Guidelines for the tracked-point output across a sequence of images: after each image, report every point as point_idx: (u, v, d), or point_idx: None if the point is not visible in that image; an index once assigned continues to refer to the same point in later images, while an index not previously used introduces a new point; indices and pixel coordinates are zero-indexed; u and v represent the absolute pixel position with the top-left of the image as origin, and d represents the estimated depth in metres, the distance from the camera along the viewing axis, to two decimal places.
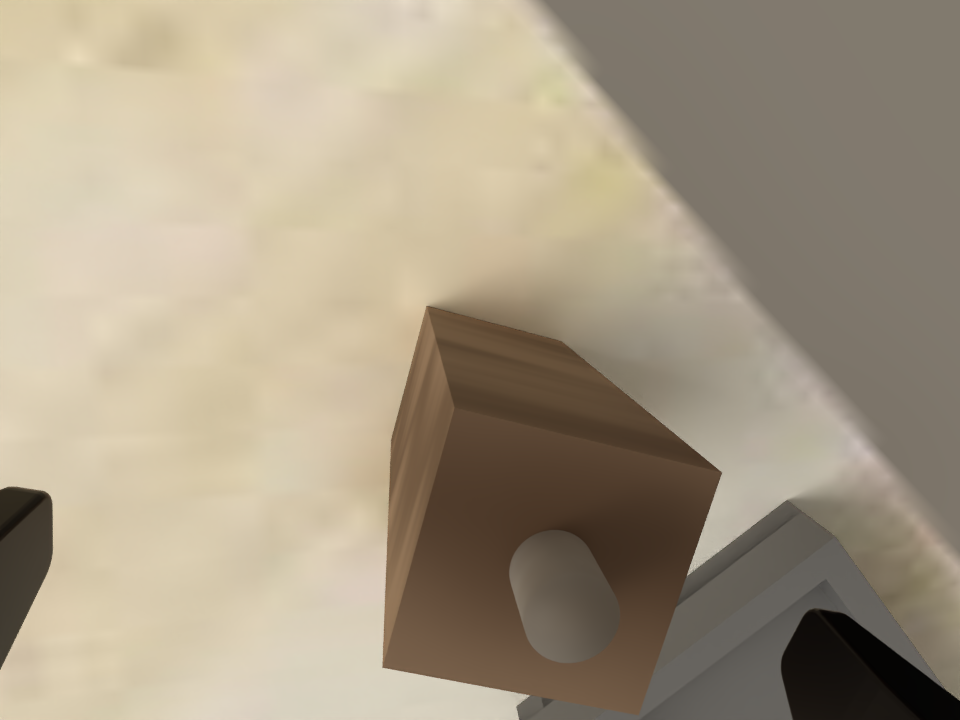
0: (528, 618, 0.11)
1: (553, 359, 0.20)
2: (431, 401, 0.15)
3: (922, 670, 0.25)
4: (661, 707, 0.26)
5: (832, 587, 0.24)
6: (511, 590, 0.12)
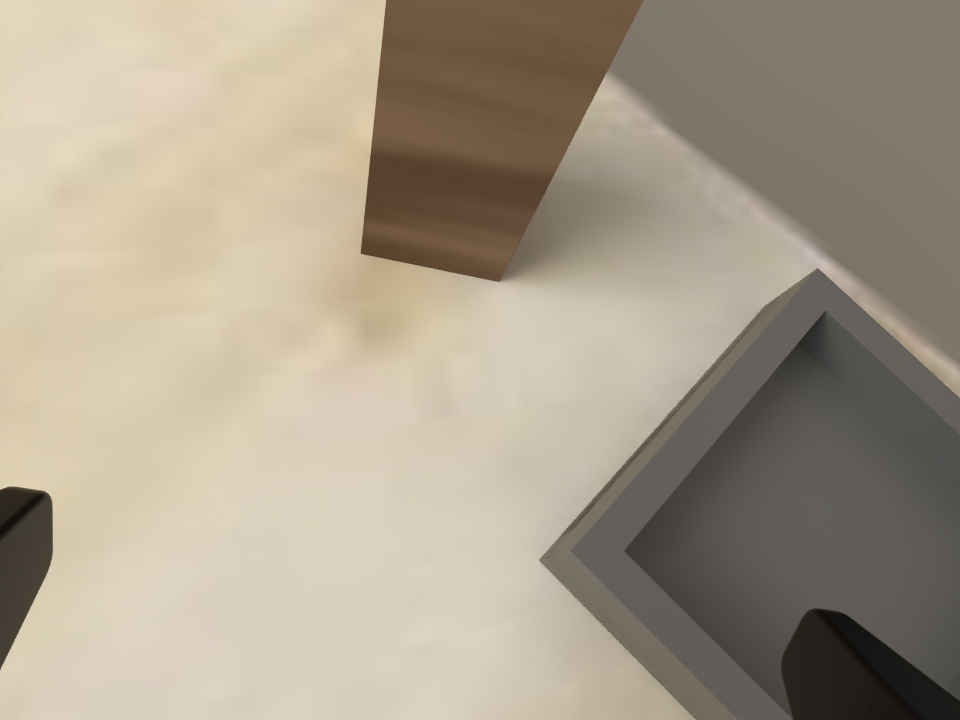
0: None
1: None
2: None
3: None
4: (707, 523, 0.22)
5: (835, 321, 0.23)
6: None
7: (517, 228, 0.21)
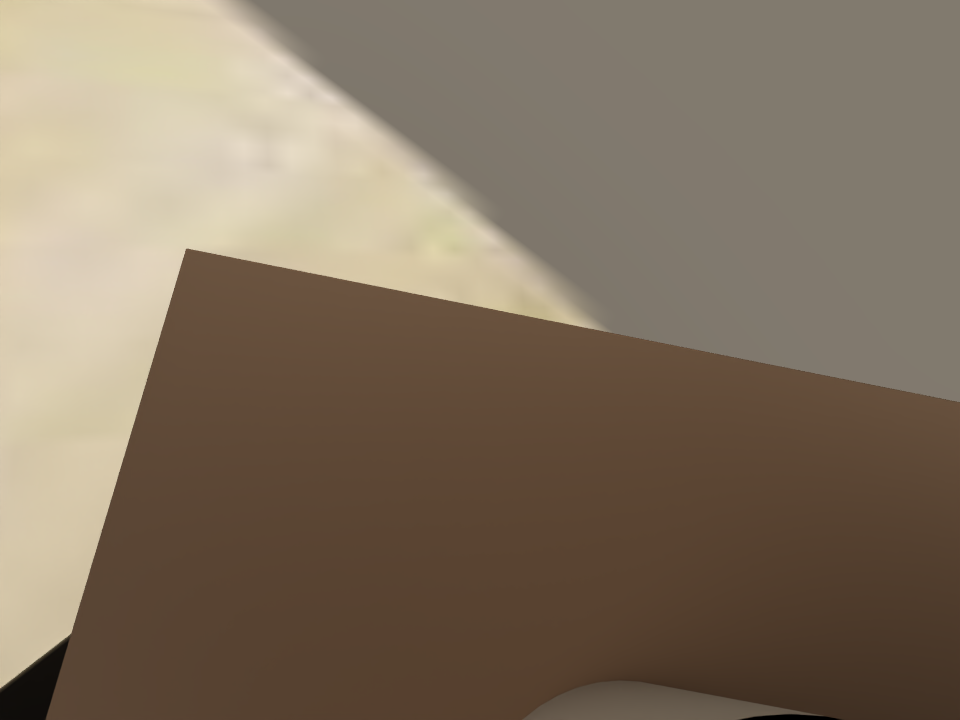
0: None
1: None
2: None
3: None
4: None
5: None
6: None
7: None
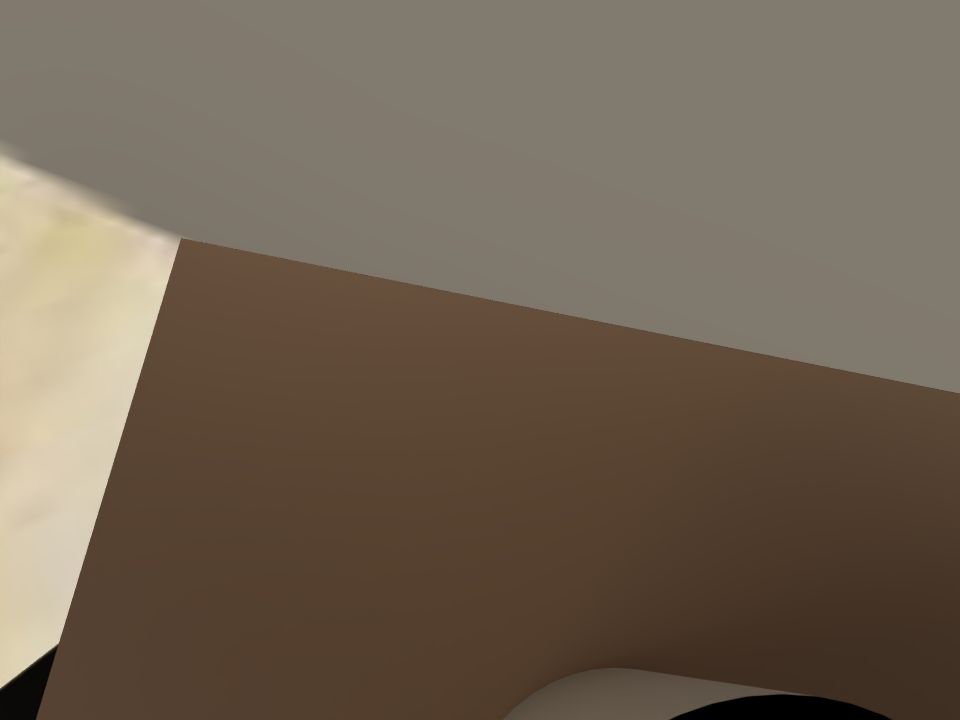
0: None
1: None
2: None
3: None
4: None
5: None
6: None
7: None
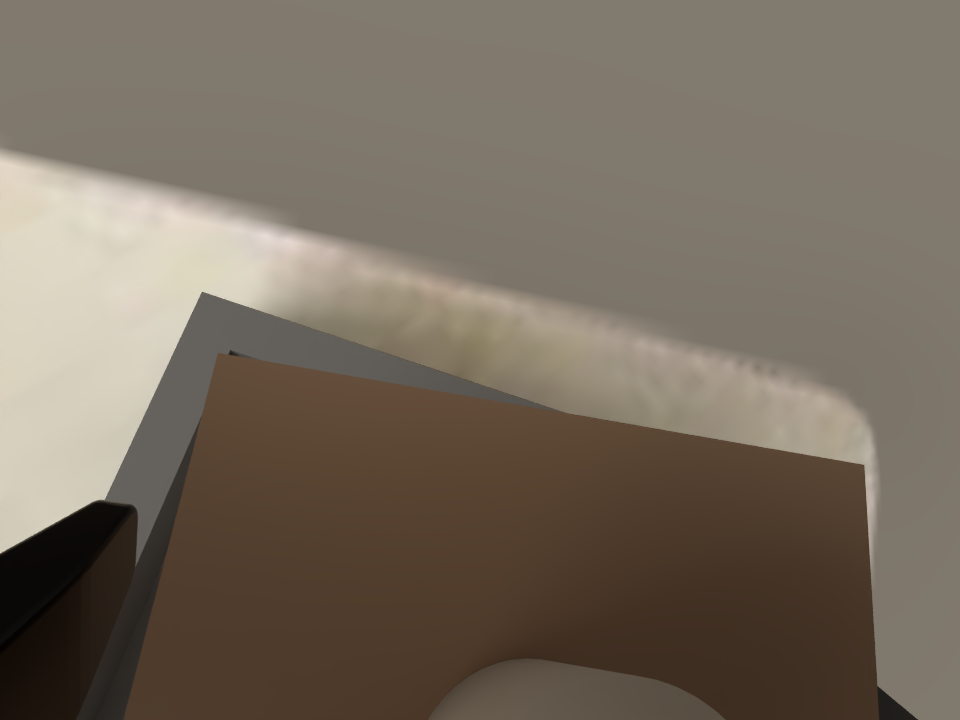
0: None
1: None
2: None
3: (469, 391, 0.16)
4: None
5: (252, 357, 0.16)
6: None
7: None
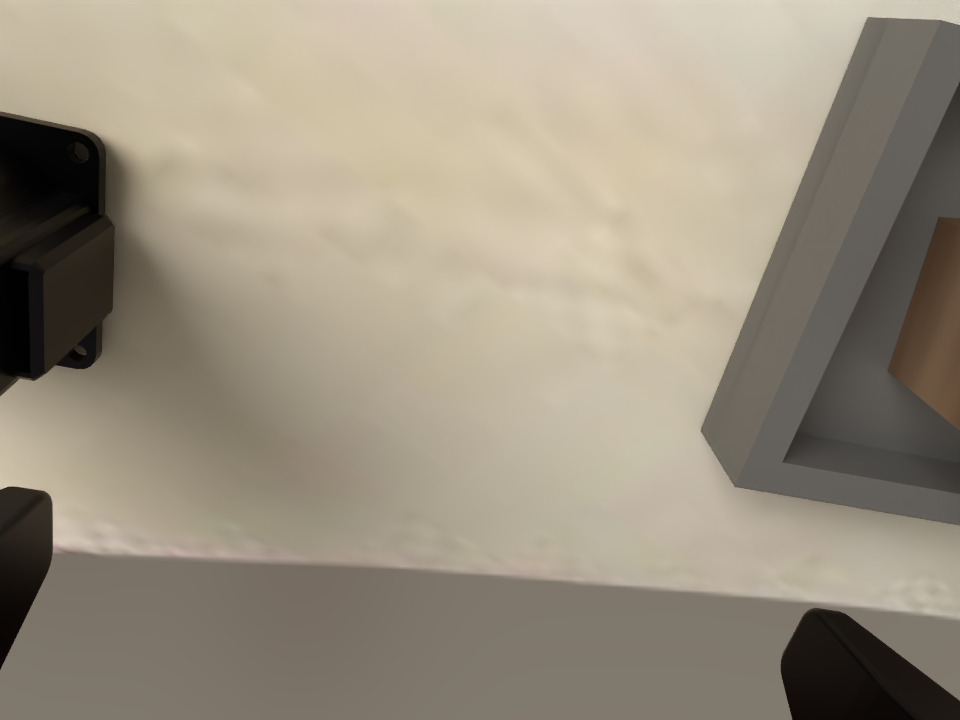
0: None
1: None
2: None
3: None
4: None
5: None
6: None
7: None
